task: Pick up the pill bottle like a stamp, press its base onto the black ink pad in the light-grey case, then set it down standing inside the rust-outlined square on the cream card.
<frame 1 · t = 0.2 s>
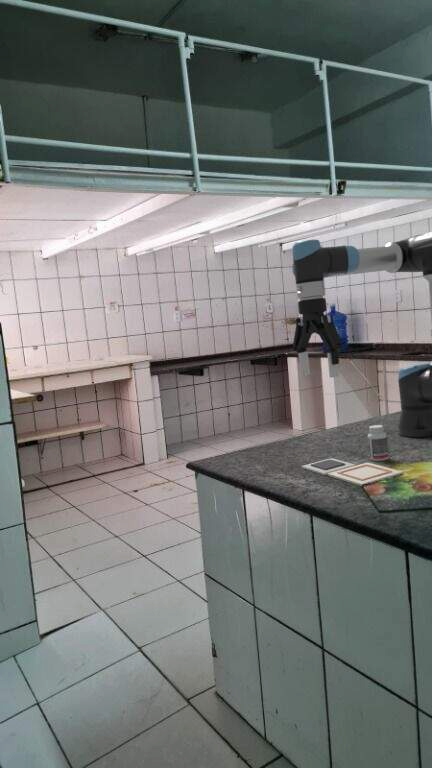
hand: (319, 376, 156), 27 cm above the countertop, fingers open, 13 cm apart
print card: (364, 474, 152), on the countertop
pill bottle: (379, 459, 165), on the countertop
ink pad: (328, 467, 163), on the countertop
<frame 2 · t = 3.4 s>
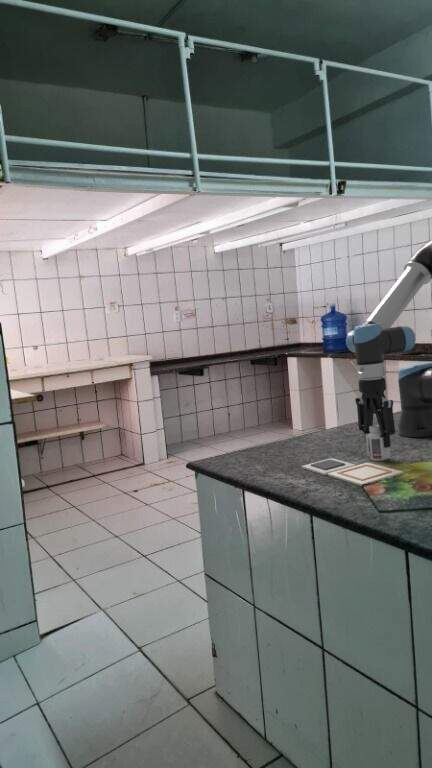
hand: (378, 456, 165), 1 cm above the countertop, fingers closed on pill bottle, 5 cm apart
pill bottle: (379, 459, 165), on the countertop, touching gripper
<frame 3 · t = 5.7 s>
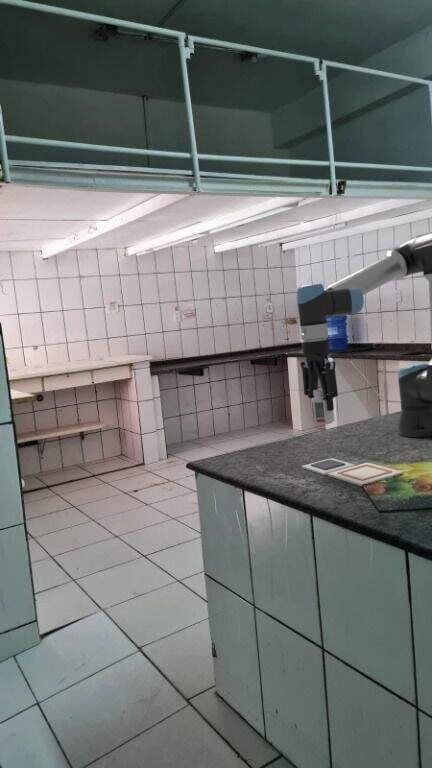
hand: (323, 420, 162), 14 cm above the countertop, fingers closed on pill bottle, 5 cm apart
pill bottle: (323, 424, 162), point 13 cm above the countertop, touching gripper
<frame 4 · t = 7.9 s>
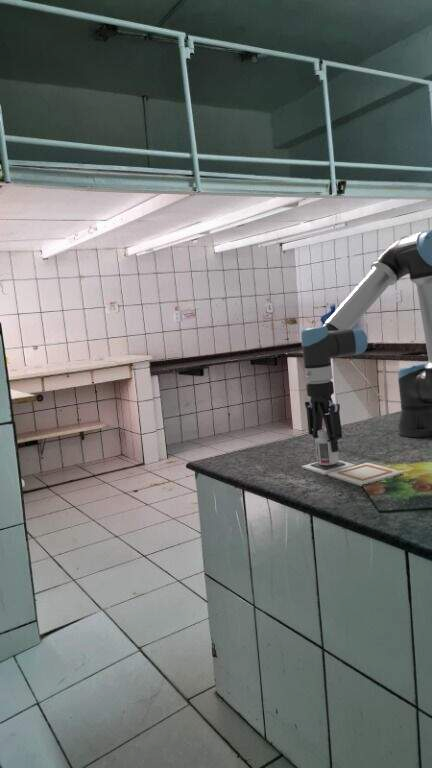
hand: (327, 460, 163), 2 cm above the countertop, fingers closed on pill bottle, 5 cm apart
pill bottle: (327, 464, 163), point 1 cm above the countertop, touching gripper
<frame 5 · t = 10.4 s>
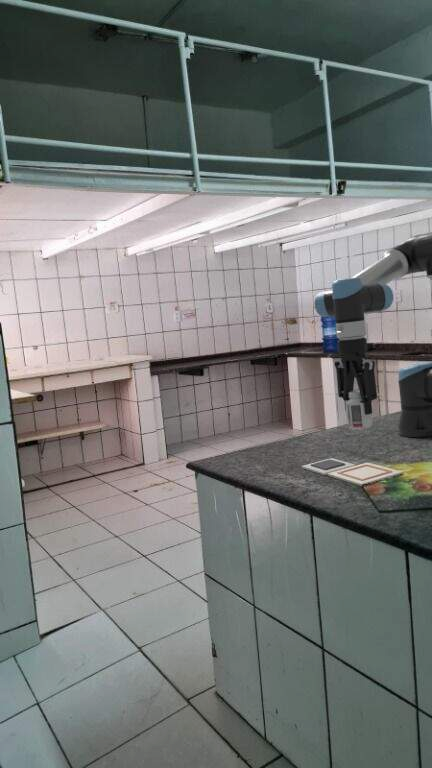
hand: (359, 424, 150), 14 cm above the countertop, fingers closed on pill bottle, 5 cm apart
pill bottle: (359, 428, 150), point 13 cm above the countertop, touching gripper
when the fingers open (3 cm above the countertop, at t = 12.6 s): pill bottle drops 1 cm, resting on print card.
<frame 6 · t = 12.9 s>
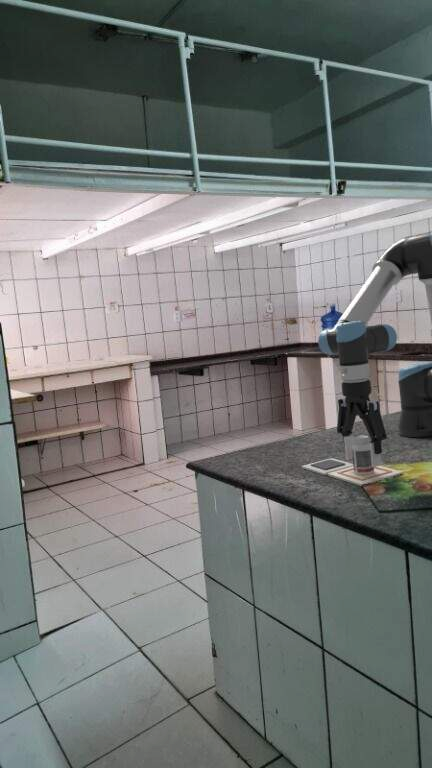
hand: (363, 462, 151), 3 cm above the countertop, fingers open, 10 cm apart
pill bottle: (364, 473, 152), resting on print card
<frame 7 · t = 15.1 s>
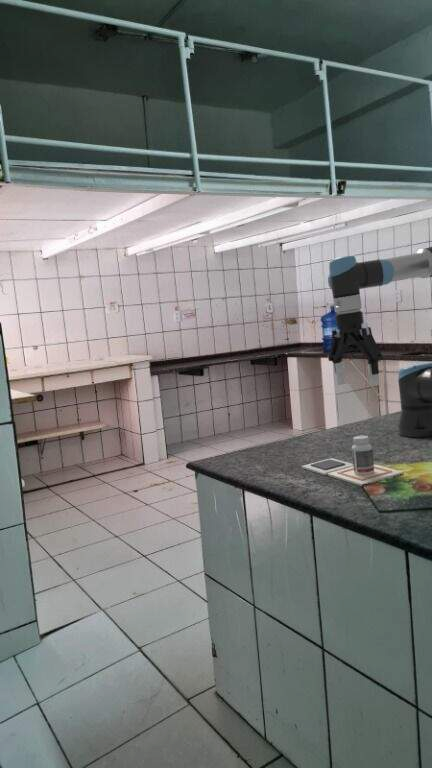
hand: (357, 385, 163), 22 cm above the countertop, fingers open, 13 cm apart
nothing on the countertop moved.
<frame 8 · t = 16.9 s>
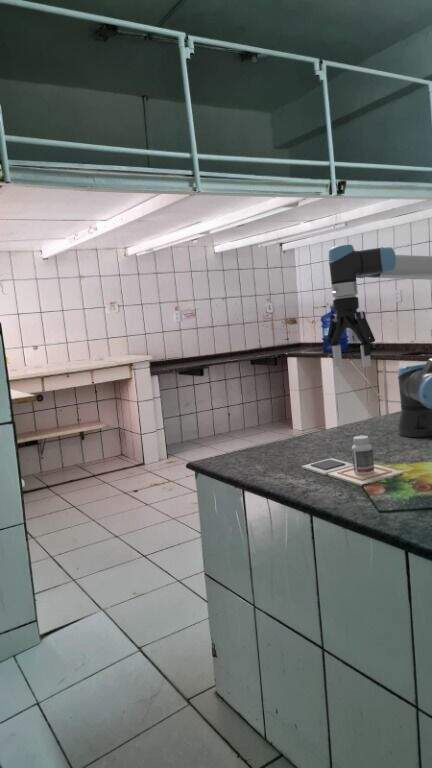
hand: (351, 366, 174), 27 cm above the countertop, fingers open, 13 cm apart
nothing on the countertop moved.
at the end: pill bottle inside the target area on the print card (0.1 cm from its centre), point 0.4 cm above the print card's base; pill bottle tilted 0°; the gripper is holding nothing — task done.
